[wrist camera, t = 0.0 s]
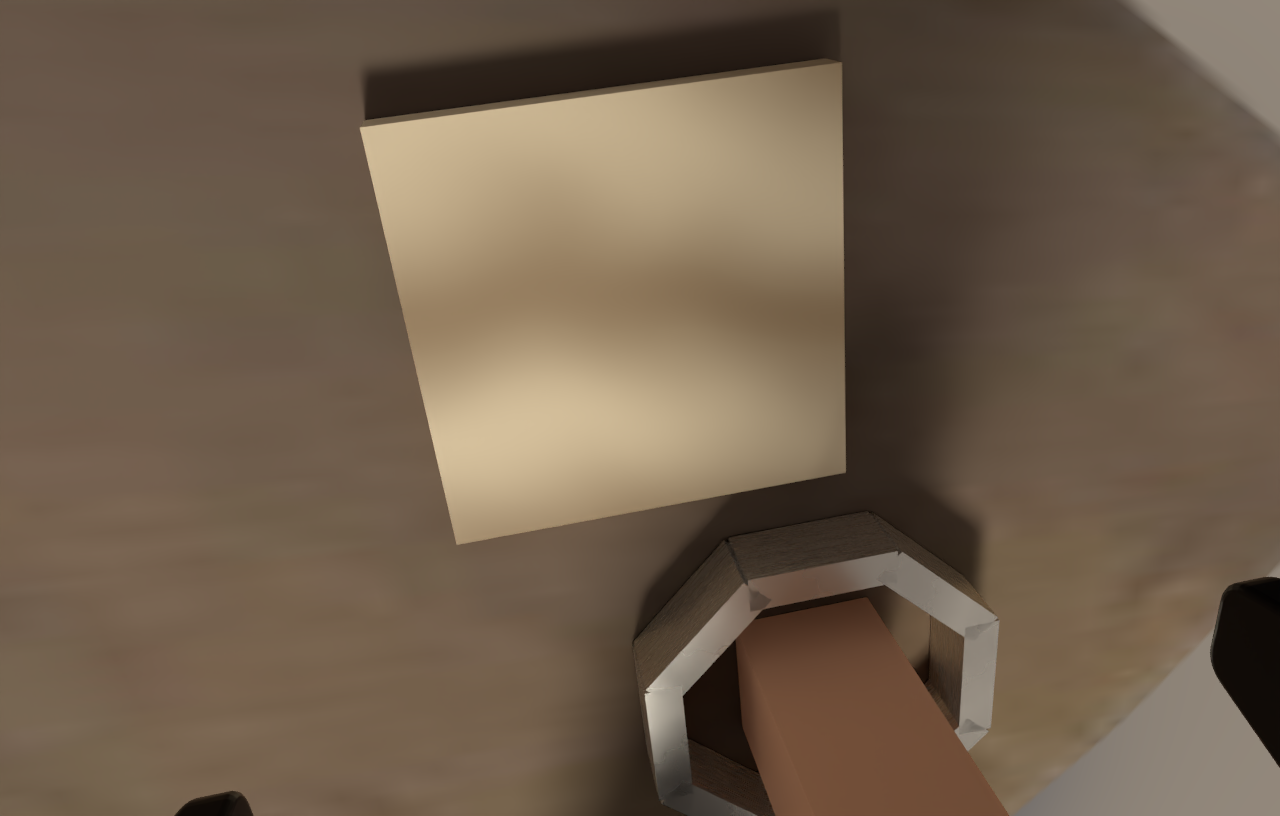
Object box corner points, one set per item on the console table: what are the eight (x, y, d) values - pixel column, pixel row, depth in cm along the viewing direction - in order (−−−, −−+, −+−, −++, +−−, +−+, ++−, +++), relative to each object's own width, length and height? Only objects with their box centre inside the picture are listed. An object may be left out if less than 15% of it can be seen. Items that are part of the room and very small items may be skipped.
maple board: (831, 454, 25) (846, 472, 24) (456, 523, 24) (456, 544, 23) (825, 58, 20) (841, 62, 20) (364, 120, 19) (360, 127, 18)
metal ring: (954, 751, 31) (984, 799, 29) (656, 817, 29) (668, 872, 28) (969, 491, 26) (1006, 529, 24) (619, 558, 25) (632, 603, 23)
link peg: (866, 700, 29) (1048, 1025, 20) (742, 727, 29) (871, 1071, 20) (867, 597, 27) (1065, 903, 18) (734, 623, 27) (871, 950, 18)
